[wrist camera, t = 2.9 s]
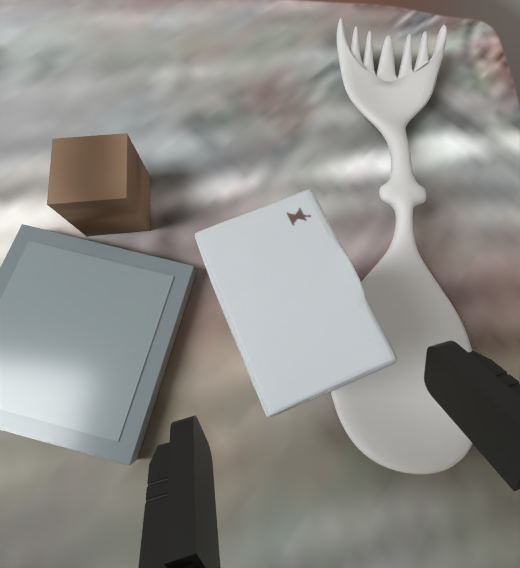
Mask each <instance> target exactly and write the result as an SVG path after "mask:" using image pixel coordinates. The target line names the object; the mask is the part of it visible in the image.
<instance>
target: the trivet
mask: <svg viewBox="0 0 520 568" xmlns="http://www.w3.org/2000/svg"><path fill="white" fill-rule="evenodd" d="M196 273H197V271H196V269H195V268H194V266H191V265H187V264H183V263H179V262H175V261H171V260H167V259H163V258H159V257H154V256H150V255H146V254H142V253H138V252H134V251H130V250H126V249H122V248H118V247H113V246H109V245H105V244H101V243H97V242H93V241H89V240H85V239H81V238H77V237H72V236H68V235H64V234H60V233H56V232H52V231H48V230H44V229H40V228H36V227H31V226H27V225H23V224H22V226H21V228H20V230H19V232H18V234H17V236H16V238H15V240H14V242H13V244H12V246H11V248H10V250H9V252H8V254H7V256H6V258H5V260H4V262H3V264H2V266H1V268H0V430H3V431H7V432H11V433H14V434H18V435H21V436H25V437H29V438H32V439H36V440H39V441H43V442H47V443H50V444H54V445H57V446H61V447H64V448H68V449H72V450H75V451H79V452H82V453H86V454H90V455H93V456H97V457H100V458H104V459H108V460H111V461H115V462H118V463H122V464H125V465H131V464H132V463H133V462H135V461H136V460H137V458H138V455H139V452H140V448H141V445H142V442H143V439H144V436H145V433H146V430H147V427H148V423H149V420H150V417H151V414H152V411H153V408H154V405H155V401H156V398H157V395H158V392H159V389H160V386H161V383H162V380H163V376H164V373H165V370H166V367H167V364H168V361H169V358H170V354H171V351H172V348H173V345H174V342H175V339H176V336H177V332H178V329H179V326H180V323H181V320H182V317H183V314H184V311H185V307H186V304H187V301H188V298H189V295H190V292H191V289H192V285H193V282H194V279H195V276H196Z"/></svg>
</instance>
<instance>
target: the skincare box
mask: <svg viewBox="0 0 520 568" xmlns="http://www.w3.org/2000/svg"><path fill="white" fill-rule="evenodd" d="M195 238H196V241H197V244H198V247H199V250H200V253H201V255H202V258H203V261H204V264H205V267H206V269H207V272H208V275H209V278H210V280H211V283H212V286H213V288H214V290H215V293H216V296H217V298H218V300H219V303H220V305H221V308H222V310H223V312H224V315H225V318H226V320H227V322H228V325H229V327H230V330H231V332H232V335H233V337H234V339H235V342H236V344H237V347H238V349H239V351H240V354H241V356H242V359H243V361H244V364H245V366H246V368H247V371H248V373H249V376H250V378H251V380H252V383H253V385H254V388H255V390H256V392H257V395H258V397H259V399H260V402H261V404H262V407H263V409H264V412H265V414H266V416H267V417H272V416H275V415H277V414H279V413H282V412H284V411H287V410H289V409H291V408H294V407H296V406H298V405H301V404H303V403H306V402H308V401H310V400H313V399H315V398H317V397H320V396H322V395H324V394H327V393H329V392H331V391H334V390H336V389H338V388H341V387H343V386H345V385H347V384H350V383H352V382H354V381H357V380H359V379H361V378H363V377H366V376H368V375H370V374H373V373H375V372H377V371H379V370H382V369H384V368H386V367H388V366H391V365H393V364H395V362H396V360H397V357H396V353H395V351H394V349H393V347H392V345H391V343H390V341H389V340H388V338H387V336H386V334H385V332H384V330H383V328H382V326H381V324H380V322H379V320H378V318H377V316H376V314H375V312H374V310H373V308H372V306H371V304H370V302H369V300H368V298H367V296H366V294H365V292H364V289H363V287H362V284H361V281H360V279H359V277H358V274H357V272H356V270H355V268H354V266H353V264H352V262H351V260H350V258H349V257H348V255H347V254H346V253H345V251H344V250H343V248H342V246H341V244H340V243H339V241H338V239H337V237H336V235H335V233H334V231H333V229H332V227H331V226H330V224H329V222H328V220H327V218H326V216H325V214H324V212H323V210H322V208H321V206H320V204H319V202H318V201H317V199H316V197H315V195H314V193H313V191H312V190H310V189H307V190H304V191H302V192H299V193H297V194H294V195H292V196H289V197H287V198H284V199H282V200H279V201H277V202H274V203H272V204H269V205H267V206H264V207H262V208H259V209H257V210H254V211H251V212H249V213H246V214H243V215H241V216H238V217H235V218H232V219H230V220H227V221H224V222H222V223H219V224H217V225H214V226H212V227H209V228H207V229H204V230H202V231H199V232H197V233H196V234H195Z"/></svg>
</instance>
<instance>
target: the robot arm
mask: <svg viewBox="0 0 520 568" xmlns="http://www.w3.org/2000/svg"><path fill="white" fill-rule="evenodd" d="M424 382H425V385H426V388H427V390H428V392H429V393H430V395H431V396H432V397H433V398H434V399H435V401H436V402H437V403H438V404H439V405H440V406H441V408H442V409H443V410H444V411H445V412H446V413H447V414H448V416H449V417H450V418H451V419H452V420H453V421H454V423H455V424H456V425H457V426H458V427H459V428H460V429H461V431H462V432H463V433H464V434H465V435H466V436H467V438H468V439H469V440H470V441H471V442H472V443H473V444H474V446H475V447H476V448H477V449H478V450H479V451H480V453H481V454H482V455H483V456H484V457H485V458H486V459H487V461H488V462H489V463H490V464H491V465H492V466H493V468H494V469H495V470H496V471H497V472H498V473H499V474H500V476H501V477H502V478H503V479H504V480H505V481H506V482H507V484H508V485H509V486H510V487H511V488H512V489H513V491H516V490H519V489H520V384H519V382H518V381H517V380H516V379H515V378H513V377H512V376H511V375H510V374H509V375H508V374H507V372H506V371H505V370H504V369H502V368H501V367H500V366H499V365H497V364H496V363H495V362H494V361H492V360H491V359H489V358H487V357H485V356H482V355H480V354H478V353H476V352H474V351H471V352H467V351H466V350H465V349H463V348H462V347H461V346H460V345H459V344H457V343H456V342H454V341H451V340H450V341H446V342H443V343H439V344H436V345H433V346H430V347H428V348H427V353H426V362H425V371H424ZM139 568H220V558H219V545H218V531H217V518H216V504H215V491H214V477H213V464H212V456H211V451H210V447H209V444H208V442H207V439H206V437H205V435H204V433H203V430H202V428H201V426H200V424H199V421H198V419H197V417H196V416H192V417H189V418H185V419H182V420H179V421H175V422H172V424H171V429H170V442H169V443H165V444H162V445H159V446H158V447H157V449H156V451H155V453H154V455H153V458H152V460H151V462H150V464H149V473H148V487H147V493H146V503H145V512H144V521H143V531H142V540H141V550H140V559H139Z"/></svg>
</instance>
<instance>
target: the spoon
mask: <svg viewBox="0 0 520 568" xmlns="http://www.w3.org/2000/svg"><path fill="white" fill-rule="evenodd" d="M446 36H447V28H446V26H445V25H443V26H442V27H441V29H440V31H439V34H438V36H437V40H436V44H435V47H434V51H433V55H432V57H431V59H430V60H429V59H428V41H427V33H426V31H424V33H423V36H422V39H421V42H420V47H419V51H418V55H417V60H416V63H415V67H414V70H412V45H411V34H410V33H409V34H408V36H407V40H406V43H405V47H404V52H403V56H402V61H401V66H400V70H399V74H398V77H396V74H395V65H394V51H393V42H392V38H391V36H390V35H388V36H387V37H386V39H385V41H384V44H383V48H382V52H381V56H380V61H379V65H378V69H377V74H375V71H374V64H373V52H372V36H371V31H369V32H368V36H367V40H366V46H365V53H364V59H363V63H362V60H361V56H360V50H359V39H358V29H357V26H356V27H355V29H354V33H353V39H352V45H351V50H350V49H349V47H348V45H347V42H346V36H345V30H344V24H343V19H342V18H340V20H339V23H338V28H337V50H338V56H339V62H340V68H341V73H342V78H343V83H344V86H345V89H346V91H347V94H348V96H349V98H350V99H351V101H352V103H353V104H354V106H355V107H356V108H357V109H358V110H359V111H360V113H361V114H362V115H363V116H364V117H365V118H366V119H368V120H369V121H370V122H371V123H372V124H373V125H374V126H375V127H376V128H377V129H378V130H379V131H380V132H381V134H382V135H383V136H384V138H385V140H386V142H387V144H388V147H389V151H390V156H391V177H390V179H389V181H388V182H387V183H386V184H384V185H383V186H381V188H380V198H381V200H382V201H383V202H385V203H387V204H389V205H390V206H391V207H392V208H393V209H394V211H395V215H396V227H395V233H394V237H393V240H392V243H391V245H390V247H389V249H388V251H387V252H386V254H385V255H384V256H383V257H382V259H381V260H380V261H379V262H378V263H377V264H376V265H375V267H374V268H373V269H372V270H371V271H370V272H369V273H368V274H367V275H366V277H365V278H364V279H363V280H362V281H361V284H362V287H363V289H364V292H365V294H366V296H367V298H368V300H369V302H370V304H371V306H372V308H373V310H374V312H375V314H376V316H377V318H378V320H379V322H380V324H381V326H382V328H383V330H384V332H385V334H386V336H387V338H388V340H389V341H390V343H391V345H392V347H393V349H394V351H395V353H396V357H397V360H396V362H395V364H393V365H391V366H388V367H386V368H384V369H382V370H379V371H377V372H375V373H373V374H370V375H368V376H366V377H363V378H361V379H359V380H357V381H354V382H352V383H350V384H347V385H345V386H343V387H341V388H338V389H336V390H334V391H331V395H332V399H333V402H334V406H335V409H336V411H337V414H338V417H339V419H340V421H341V423H342V425H343V427H344V429H345V431H346V433H347V434H348V436H349V437H350V439H351V440H352V441H353V443H354V444H355V445H356V446H357V448H358V449H359V450H361V451H362V452H363V453H364V454H365V455H366V456H367V457H369V458H370V459H372V460H373V461H375V462H376V463H378V464H380V465H382V466H384V467H387V468H389V469H392V470H395V471H399V472H404V473H410V474H432V473H437V472H442V471H444V470H447V469H449V468H451V467H452V466H454V465H455V464H456V463H458V462H459V461H460V460H462V458H463V457H464V456H465V455H466V454H467V453H468V451H469V450H470V448H471V446H472V444H473V443H472V442H471V441H470V440H469V439H468V438H467V436H466V435H465V434H464V433H463V432H462V431H461V429H460V428H459V427H458V426H457V425H456V424H455V423H454V421H453V420H452V419H451V418H450V417H449V416H448V414H447V413H446V412H445V411H444V410H443V409H442V408H441V406H440V405H439V404H438V403H437V402H436V401H435V399H434V398H433V397H432V396H431V395H430V393H429V392H428V390H427V388H426V385H425V382H424V371H425V362H426V353H427V348H428V347H430V346H433V345H436V344H439V343H443V342H446V341H450V340H451V341H454V342H456V343H457V344H459V345H460V346H461V347H462V348H463V349H465V350H466V351H467V352H471V351H472V349H471V345H470V342H469V338H468V336H467V333H466V330H465V328H464V325H463V323H462V321H461V319H460V317H459V315H458V314H457V312H456V310H455V308H454V307H453V305H452V304H451V302H450V301H449V299H448V298H447V296H446V295H445V293H444V292H443V290H442V289H441V287H440V286H439V285H438V283H437V282H436V280H435V279H434V277H433V276H432V274H431V273H430V271H429V270H428V268H427V266H426V265H425V263H424V262H423V260H422V258H421V256H420V254H419V252H418V249H417V246H416V243H415V238H414V232H413V220H412V218H413V209H414V207H415V206H417V205H419V204H422V203H424V202H425V201H426V190H425V188H423V187H422V186H421V185H419V184H418V183H417V181H416V180H415V178H414V175H413V171H412V166H411V157H410V150H409V144H408V139H407V135H406V126H407V124H408V123H409V121H410V120H411V119H412V118H413V117H414V116H415V115H416V114H417V113H418V112H419V111H420V110H421V109H422V108H423V107H424V106H425V105H426V104H427V102H428V101H429V99H430V97H431V95H432V93H433V90H434V87H435V84H436V80H437V76H438V72H439V69H440V66H441V62H442V58H443V53H444V49H445V44H446Z"/></svg>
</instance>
